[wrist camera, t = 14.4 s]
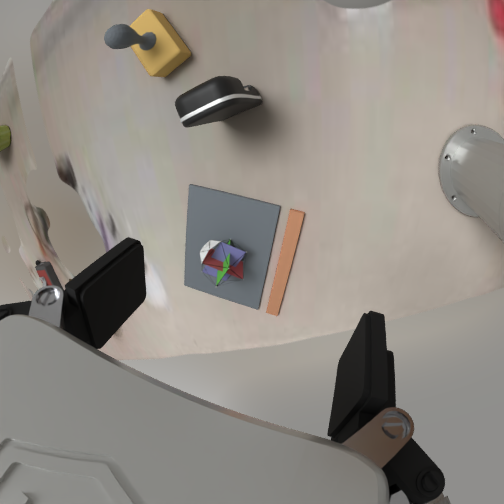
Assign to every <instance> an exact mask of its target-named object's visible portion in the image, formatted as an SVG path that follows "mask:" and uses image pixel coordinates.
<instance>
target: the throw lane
mask: <svg viewBox="0 0 504 504" xmlns="http://www.w3.org/2000/svg"><path fill="white" fill-rule="evenodd" d="M279 211H280V206H279V205H275V204H271V203H267V202H263V201H259V200H255V199H251V198H247V197H243V196H239V195H235V194H231V193H227V192H223V191H218V190H214V189H210V188H206V187H201V186H197V185H192V184H190V185H189V196H188V211H187V228H186V250H185V280H184V285H185V286H188V287H191V288H194V289H196V290H199V291H202V292H205V293H208V294H211V295H214V296H217V297H220V298H223V299H226V300H229V301H232V302H235V303H238V304H242V305H245V306H248V307H251V308H254V309H257V310H258V308H259V304H260V299H261V295H262V290H263V286H264V281H265V277H266V272H267V267H268V263H269V258H270V253H271V249H272V244H273V239H274V234H275V230H276V225H277V220H278V215H279ZM304 213H305V212H301V211H298V210H294V209H290V213H289V217H288V222H287V226H286V231H285V235H284V239H283V244H282V248H281V252H280V257H279V261H278V265H277V270H276V274H275V278H274V282H273V286H272V290H271V295H270V299H269V303H268V307H267V311H266V313H269V314H272V315H275V316H277V315H278V312H279V309H280V305H281V301H282V298H283V294H284V291H285V287H286V283H287V280H288V276H289V272H290V268H291V264H292V261H293V257H294V253H295V249H296V245H297V241H298V237H299V233H300V229H301V225H302V221H303V217H304ZM229 239H231V240H230V245H231V246H233V247H234V246H235V247H236V248H238V249H240V250H243V251H246V252H247V253H245V254H246V255H244V256H245V258H246V260H245V258H244V256H243V258H242V259H241V261H242V260H243V259H244V260H243V275H244V276H243V279H244V280H242V279H240V278H238V277H235V276H232V275H231V276H230V277H229V278H228V279H227V280H226V281H225V282H224V280H221V281H220V282H219V284H220V285H221V286H220V285H219V284H218V285H219V286H218V285H217V287H216V286H215V285H216V283H217V278H216V277H214V276H211V275H208V274H206V273H203V272H201V271H203V269H204V267H205V266H206V265H205V264H203V268H202V264H201V263H202V262H201V258H200V253H199V252H200V251H201V249H202V248H203V246H204V245H205V244H206V243H207V242H209V241H210V240H214V241H222V242H224V243H226V244H227V243H228V242H229ZM224 240H225V241H224ZM231 241H232V242H231ZM234 242H235V243H234ZM232 243H233V244H234V245H233V244H232ZM219 244H220V242H219V243H218V244H217V245H219ZM217 245H215V246H214V247H213V248H212V249H214V248H215V247H216V246H217ZM217 247H218V246H217ZM217 247H216V248H217ZM240 247H241V248H240ZM216 248H215V249H214V250H216ZM244 266H245V268H244ZM204 274H205V275H206V276H207V277H208V278H209V279H208V278H207V277H206V276H205V275H204ZM210 277H211V278H210ZM212 280H213V281H212ZM229 280H233V281H229ZM239 280H240V281H239ZM235 281H236V282H235ZM213 282H214V283H213ZM223 282H224V283H223ZM221 283H222V284H221ZM228 283H229V284H228ZM224 284H225V285H224Z"/></svg>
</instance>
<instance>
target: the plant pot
mask: <svg viewBox="0 0 504 504" xmlns="http://www.w3.org/2000/svg"><path fill="white" fill-rule="evenodd" d="M10 136H11V132H10V129H9V127H8V126H6V125H3V126H0V151H2V150H3V149H5V148H7V147H9V145H10V142H11V140H10Z"/></svg>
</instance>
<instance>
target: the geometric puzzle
mask: <svg viewBox="0 0 504 504" xmlns="http://www.w3.org/2000/svg"><path fill="white" fill-rule="evenodd" d="M230 240H231V239H229V242H228V243H227V244H226V243H224V242H222V241H214V240H210V241H209V242H207V243H206V244H205V245H204V246H203V248H202V249H201V251H200V252H199V253H200V258H201V262H202V263H201V264H202V268H203V264H205V265H206V266H205V267H204V269H203V271H201V272H203V273H206V274H208V275H211V276H214V277H216V278H217V283H216V285H215V286H216V287H217V285H218V284H219V282H220V281H221V280H224V282H225V281H226V280H227V279H228V278H229V277H230V276H231V275H232V276H235V277H238V278H240V279H242V280H244V279H243V276H244V275H243V260H244V259H243V260H242V261H241V259H242V258H243V256H244V255H246V254H245V253H247V252H246V251H243V250H240V249H238V248H236V247H235V246H234V247H233V246H231V245H230ZM224 241H225V240H224ZM219 242H220V244H219V245H217V244H218V243H219ZM231 242H232V241H231ZM234 243H235V242H234ZM232 244H233V243H232ZM215 245H217V246H218V247H217V246H216V247H217V248H216V247H215V248H216V250H214V249H215V248H214V249H212V248H213V247H214V246H215ZM233 245H234V244H233ZM240 248H241V247H240ZM244 258H245V256H244ZM245 260H246V258H245ZM244 268H245V266H244ZM204 275H205V274H204ZM205 276H206V275H205ZM206 277H207V276H206ZM207 278H208V277H207ZM210 278H211V277H210ZM208 279H209V278H208ZM212 281H213V280H212ZM229 281H233V280H229ZM239 281H240V280H239ZM224 282H223V283H224ZM235 282H236V281H235ZM213 283H214V282H213ZM221 284H222V283H221ZM228 284H229V283H228ZM219 285H220V284H219ZM219 285H218V286H219ZM224 285H225V284H224ZM220 286H221V285H220Z"/></svg>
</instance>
